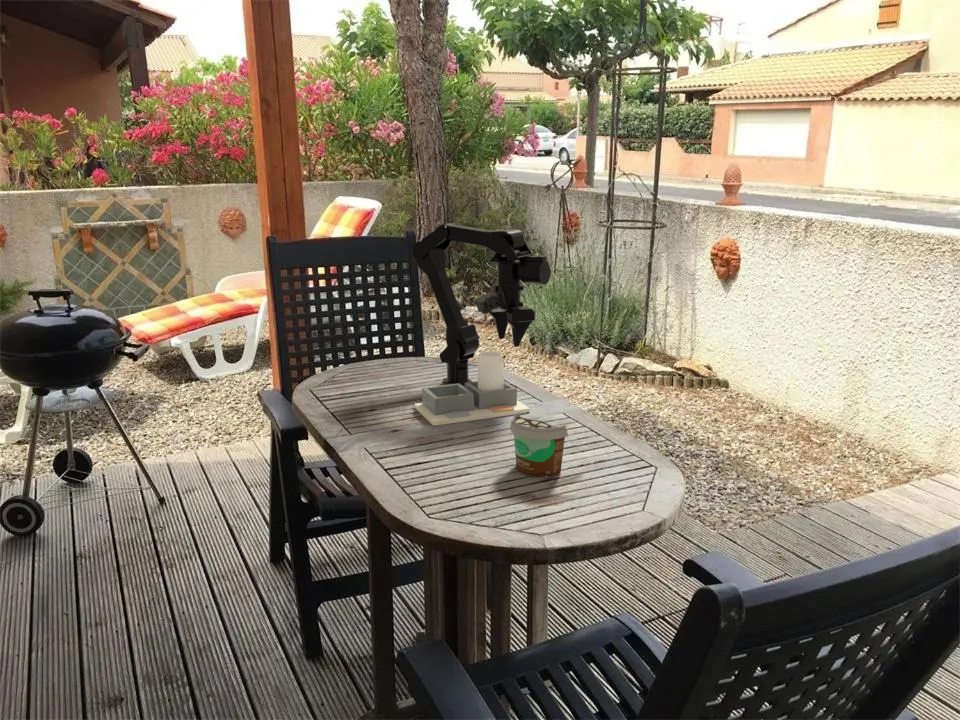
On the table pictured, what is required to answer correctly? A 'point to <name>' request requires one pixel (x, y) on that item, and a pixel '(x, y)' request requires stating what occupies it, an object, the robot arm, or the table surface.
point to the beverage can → (490, 371)
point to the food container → (537, 446)
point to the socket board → (467, 403)
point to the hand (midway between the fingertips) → (508, 342)
